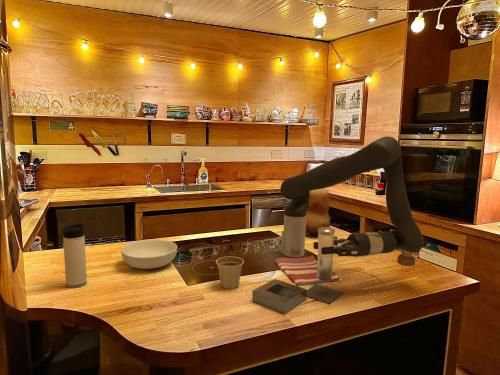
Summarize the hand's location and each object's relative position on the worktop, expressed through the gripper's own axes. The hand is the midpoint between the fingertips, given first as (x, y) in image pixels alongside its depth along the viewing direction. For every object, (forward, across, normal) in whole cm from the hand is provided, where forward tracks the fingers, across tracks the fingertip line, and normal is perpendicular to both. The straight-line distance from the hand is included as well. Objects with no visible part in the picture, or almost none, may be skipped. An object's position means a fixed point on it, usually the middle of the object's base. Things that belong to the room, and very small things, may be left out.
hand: (317, 248), depth 114 cm
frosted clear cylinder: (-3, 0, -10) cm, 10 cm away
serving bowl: (+51, +40, -15) cm, 66 cm away
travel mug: (+75, +27, -15) cm, 81 cm away
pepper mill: (-49, +19, -16) cm, 55 cm away
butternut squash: (-31, +63, -16) cm, 72 cm away
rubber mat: (-2, 0, -16) cm, 16 cm away
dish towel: (-5, +19, -16) cm, 26 cm away
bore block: (+13, -1, -16) cm, 20 cm away
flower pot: (+25, +14, -16) cm, 33 cm away
